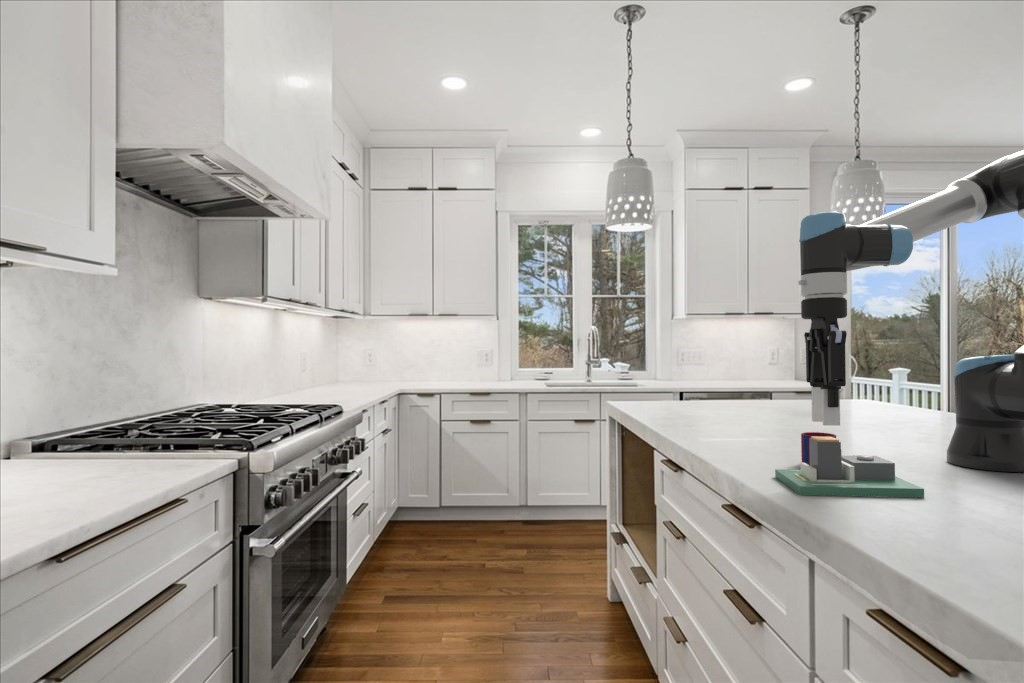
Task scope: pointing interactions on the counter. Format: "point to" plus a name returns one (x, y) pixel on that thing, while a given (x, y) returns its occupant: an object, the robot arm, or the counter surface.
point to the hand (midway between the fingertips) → (825, 423)
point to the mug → (805, 444)
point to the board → (845, 484)
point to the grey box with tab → (871, 467)
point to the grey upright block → (826, 457)
